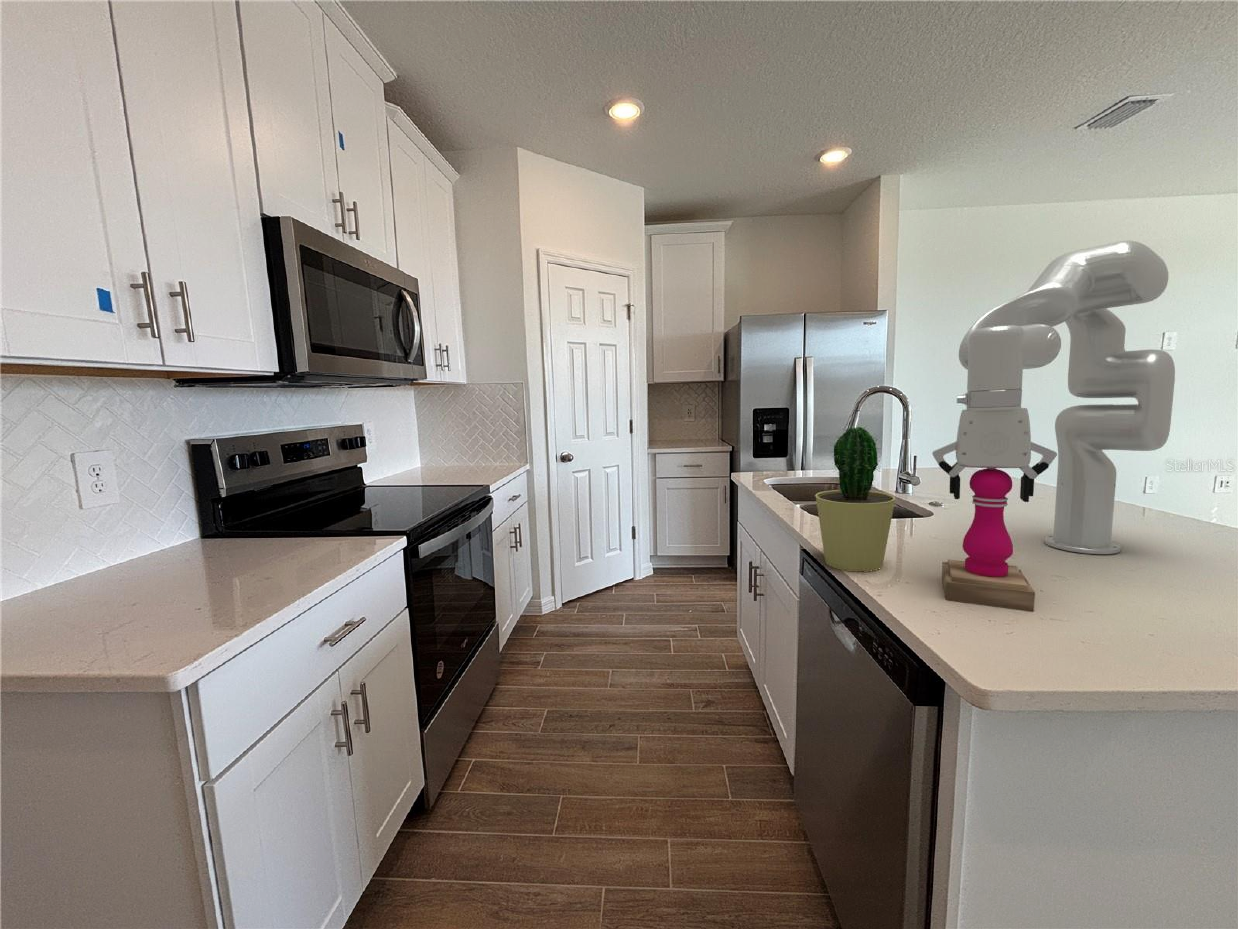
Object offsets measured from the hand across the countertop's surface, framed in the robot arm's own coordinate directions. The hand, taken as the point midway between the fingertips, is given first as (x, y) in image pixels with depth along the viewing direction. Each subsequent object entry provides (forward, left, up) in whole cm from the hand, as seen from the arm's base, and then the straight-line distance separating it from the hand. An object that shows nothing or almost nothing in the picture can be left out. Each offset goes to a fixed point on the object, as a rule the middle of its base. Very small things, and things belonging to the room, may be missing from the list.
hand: (989, 499), depth 88 cm
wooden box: (0, 0, -17) cm, 17 cm away
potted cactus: (-9, -22, -17) cm, 29 cm away
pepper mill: (0, 0, -13) cm, 13 cm away
